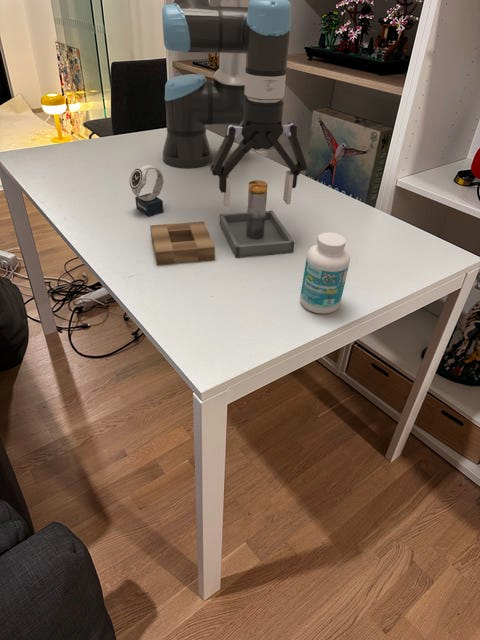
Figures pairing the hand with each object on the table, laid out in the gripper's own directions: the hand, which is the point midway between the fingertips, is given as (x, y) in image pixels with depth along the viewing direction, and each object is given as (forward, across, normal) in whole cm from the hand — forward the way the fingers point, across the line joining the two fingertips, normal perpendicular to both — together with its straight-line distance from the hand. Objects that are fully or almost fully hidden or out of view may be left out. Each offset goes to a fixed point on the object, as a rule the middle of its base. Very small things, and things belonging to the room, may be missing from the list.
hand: (257, 204), depth 100 cm
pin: (+8, 0, 0) cm, 8 cm away
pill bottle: (+8, +5, -27) cm, 29 cm away
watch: (+8, -22, +18) cm, 30 cm away
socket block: (+8, -17, -2) cm, 19 cm away
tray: (+8, 0, 0) cm, 8 cm away
